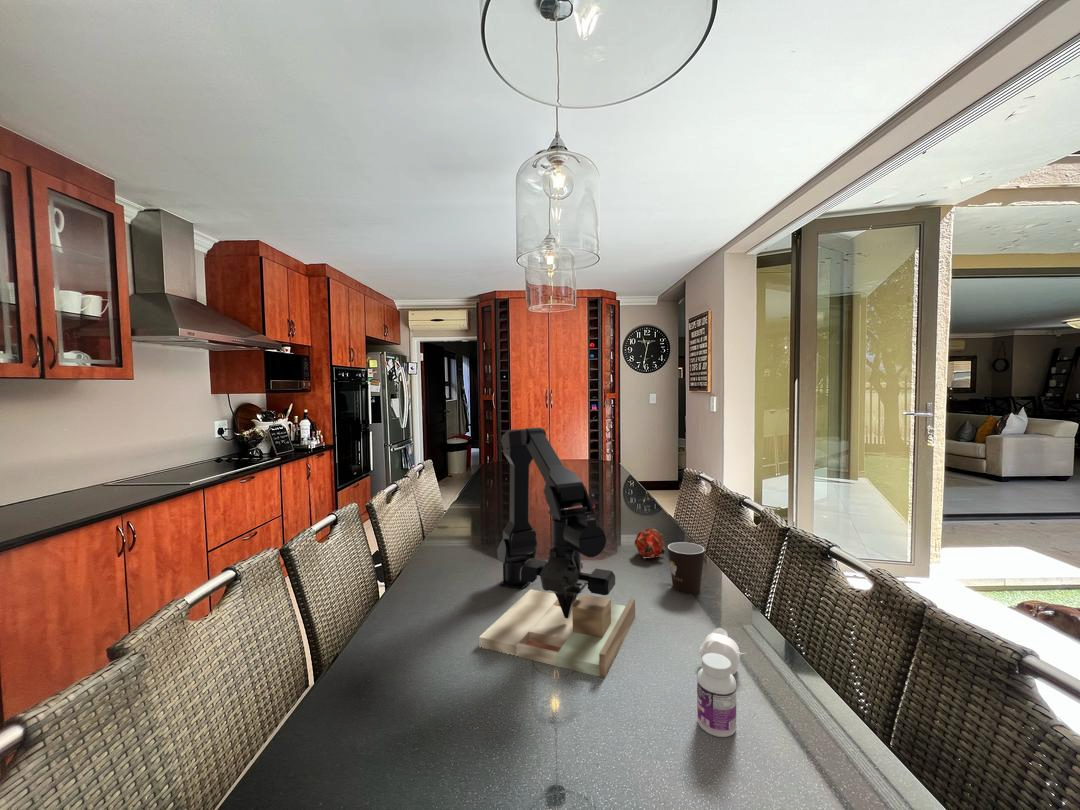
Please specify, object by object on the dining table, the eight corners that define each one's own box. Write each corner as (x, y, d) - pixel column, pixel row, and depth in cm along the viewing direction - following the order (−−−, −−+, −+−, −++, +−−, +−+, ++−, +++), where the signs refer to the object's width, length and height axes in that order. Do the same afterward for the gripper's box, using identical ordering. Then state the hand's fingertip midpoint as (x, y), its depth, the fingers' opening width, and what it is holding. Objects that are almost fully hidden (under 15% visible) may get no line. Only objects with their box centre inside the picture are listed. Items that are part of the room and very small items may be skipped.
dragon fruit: (654, 554, 142) (651, 574, 131) (630, 537, 143) (626, 556, 132) (670, 534, 139) (669, 553, 128) (646, 517, 141) (643, 534, 129)
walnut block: (572, 631, 90) (572, 606, 90) (582, 617, 96) (582, 593, 96) (602, 638, 88) (602, 612, 88) (611, 623, 93) (610, 598, 93)
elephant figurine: (700, 653, 86) (699, 621, 86) (747, 663, 82) (747, 630, 82) (695, 673, 80) (695, 639, 80) (746, 685, 76) (746, 649, 76)
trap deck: (479, 647, 89) (478, 626, 89) (530, 597, 110) (530, 580, 110) (605, 678, 79) (604, 654, 79) (635, 616, 100) (635, 598, 100)
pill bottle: (691, 713, 70) (690, 650, 70) (725, 711, 70) (724, 648, 70) (707, 740, 64) (706, 672, 64) (743, 737, 65) (743, 670, 65)
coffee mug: (707, 597, 109) (707, 555, 108) (669, 594, 110) (668, 553, 110) (700, 577, 120) (700, 539, 120) (666, 575, 122) (665, 537, 122)
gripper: (506, 547, 90) (507, 627, 90) (599, 561, 82) (599, 647, 83) (531, 531, 100) (532, 602, 101) (615, 542, 92) (616, 619, 93)
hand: (567, 617), depth 94 cm, fingers closed
